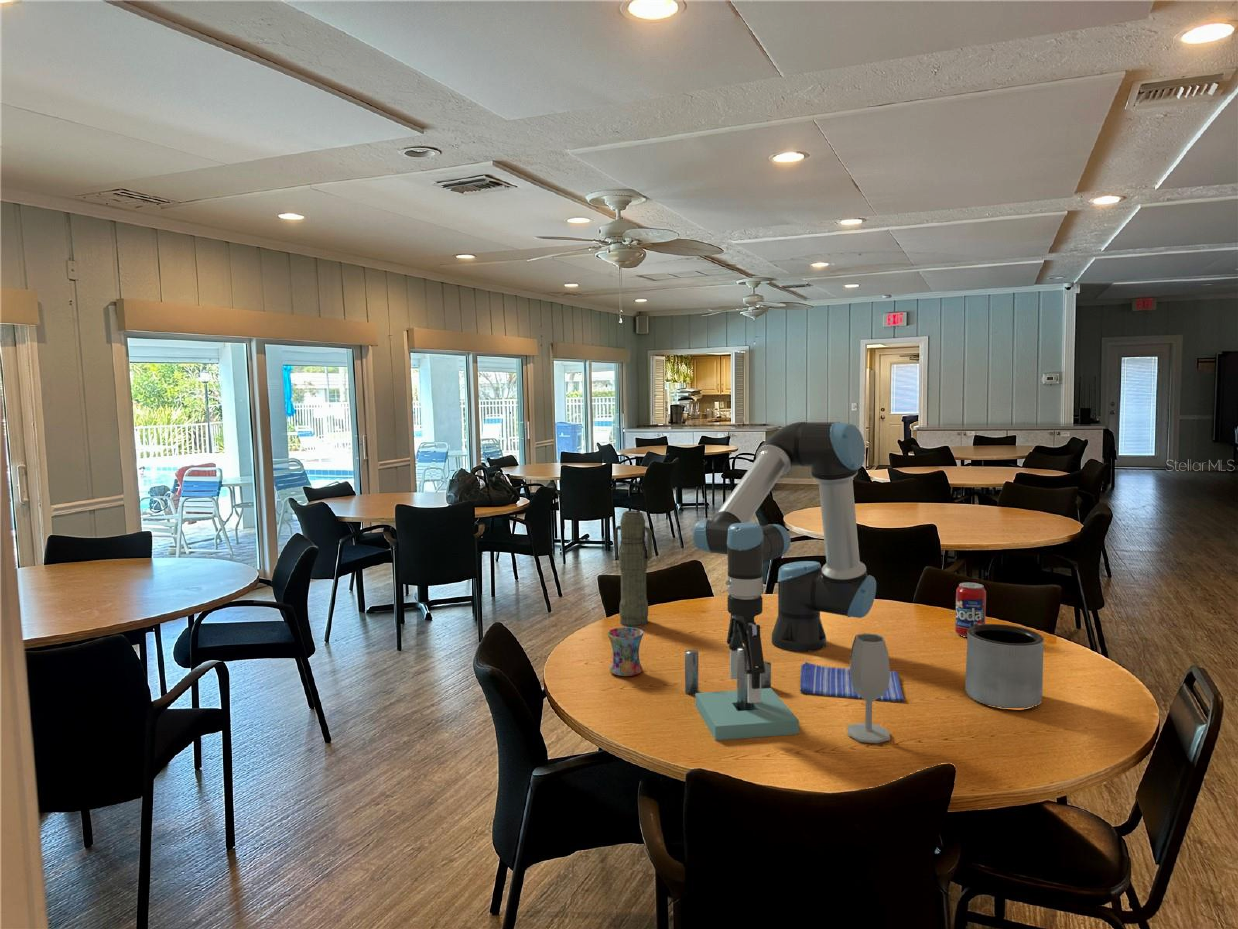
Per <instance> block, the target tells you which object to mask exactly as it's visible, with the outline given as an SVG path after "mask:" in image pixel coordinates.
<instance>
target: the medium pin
mask: <svg viewBox="0 0 1238 929" xmlns="http://www.w3.org/2000/svg"><path fill="white" fill-rule="evenodd" d="M699 688H700V686H699V650H697V649H687V650H685V651H684V694H686V695H690V696H693V695H694V696H695V693H700V691H699Z"/></svg>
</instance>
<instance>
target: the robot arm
mask: <svg viewBox="0 0 1238 929" xmlns="http://www.w3.org/2000/svg"><path fill="white" fill-rule="evenodd" d="M865 454H866V446H865V440H864V436H863V434H862V433H861V430H860V429H859V428H858V427H857V426H856V425H854V424H852V423H846V422H840V421H834V422H832V421H830V422H828V421H826V422H824V421H822V422H821V421H820V422H817V421H816V422H813V421H812V422H809V421H808V422H806V421H797V422H793V423H790V424H787V425H786V426H784V427H782V428H780V429H777V431H775V432H774V433H772V434H771V435H770V436H769V437H767V439H766V440H765V441H764V442H762V444H761V445H760V447H758V449H757V450H756V453H755V460H754V461H753V462H752V464H751V466H750V467H749V468H748V470H747V471H746V472H745V474H744V475H743V476H742V478H741V479H740V480H739V482H738V483H737V485H736V486H735V487H734V489H733V490H732V492H731V493H730V494H729V495H728V497H727V499H726V500H725V501H724V502H723V504H722V505H721V507H720V508H719V510H718V511H717V512H716V514H715V515H714V516H713V517H712V519H709V518H707V519H701V520H698V521H697V522H696V523H695V525H694V527H693V531H692V541H693V542H692V543H694V546H695V548H696V549H697V550H699V551H703V552H707V553H709V554H721V555H727V580H725V585H726V586H727V593H728V595H727V612H728V613H729V614H730V620H729V625H728V632H727V637H726V638H727V639H726V643H727V645H728V648H729V679H730V680H737V648H738V647H741V646H745V652H746V657H747V662H748V667H749V670H747V671H746V674H748V703H756V702H761V673H765V667H764V653H763V646H762V638H761V625H760V624H757V623H756V621H755V617H757V616H760V615H762V613H763V603H764V602H763V596H762V595H763V593H764V575H763V569H764V568H763V564H765V563H767V562H768V561H771V560H776V559H779V558H780V557H782V556H784V555H785V554H786V553H787V552H788V551H789V550H790V548H791V542H792V540H791V535H790V533H789V531H788V530H787V528H785V527H784V526H782V525H781V524H776V523H773V524H766V525H761V524H758V523H756V522H750V521H751V519H752V518H753V517H754V515H755V514H756V512H757V511H758V509H759V508H760V507H761V505H762V504H763V502H764V500H765V499H766V498H767V496H769V493H770V492H771V490H772V489H773V488H774V486H775V484H776V483H777V481H779V479H780V477H781V476H783V475H786V474H788V472H790V470H791V469H792V468H795V467H808V468H810V471H811V477H812V478H813V479H814V480H816V481H817V482H818V489H819V491H818V492H819V502H820V508H821V509H820V511H821V519H822V520H821V521H822V531H823V539H824V540H823V542H824V549H825V550H824V552H825V560H826V562H825V564H823V566H822V565H821V563H820V562H819V561H814V560H813V561H812V560H811V561H809V560H805V561H804V560H802V561H801V560H800V561H794V562H789V563H785V564H783V565H781V566H780V567H779V568H778V576H777V618H776V621H775V624H774V627H773V629H772V632H771V644H773V645H774V646H775V647H777V648H780V649H783V650H785V651H792V652H814V651H820V650H823V649H824V648H826V646H827V635H826V633H825V629H824V626H823V623H822V620H821V613H827V614H832V615H838V616H843V617H847V618H858V619H861V618H862V619H863V618H865V617H867V615H868V614H869V613H870V611H871V609H872V607H873V604H874V602H875V598H876V593H877V581H876V579H875V577H874V576H872V575H871V574H869V575H868V573H867V566H866V565H865V563H863V562H862V561H860V550H859V540H858V537H859V536H858V528H857V527H858V526H857V518H856V517H857V515H856V504H855V495H854V493H855V492H854V483H853V482H854V481H853V480H854V478H855V477H856V476H857V475H858V473H859V469H861V468H862V466H863V465H864V462H865V459H866V457H865Z"/></svg>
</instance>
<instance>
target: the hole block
mask: <svg viewBox="0 0 1238 929" xmlns="http://www.w3.org/2000/svg"><path fill="white" fill-rule="evenodd" d="M694 696H695V698H694V700H695V703H694V704H695V705H694V706H695V708H696V710H697V711H698V713H699V715H700V717H701V718H702V719H703V722H704V723H705V725H706V726H707V729H708V730H709V731H710V734H711V735H712V737H713V738H714V740H715V741H723V740H724V741H725V740H737V739H738V740H739V739H750V738H751V739H752V738H763V737H764V738H765V737H777V736H790V735H792V736H793V735H799V734H800V721H799V718H798V717H797V716H796V715H795V713H793V712H792V710H791V709H790V708H789V707H788V705H786V703H785V702H784V701H783V700H782V699H781V698H780V697H779V696H778V695H777V693H776V692H775V691H774V690H773V689H772V687H771V688H765V689H761V702H756V703H752V710H746V711H737V689H736V690H735V689H734V690H725V691H723V690H722V691H710V692H709V691H708V692H699V693H695V695H694Z"/></svg>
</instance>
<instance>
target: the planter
mask: <svg viewBox="0 0 1238 929" xmlns="http://www.w3.org/2000/svg"><path fill="white" fill-rule="evenodd" d="M966 640H967V642H966V657H965V658H966V659H965V660H966V661H965V683H964V685H965V686H964V687H965V692H966V694H967V695H968V696H969V697H970V699H972V698H973V699H972V700H974V701H975V700H976V701H975V702H977V701H978V702H977V703H979V702H981V703H983V704H986V705H991V706H995V707H1001V708H1028V707H1032V706H1035V705H1038V704H1039V703H1040V702H1041V701H1042V702H1043V690H1044V689H1043V685H1044V680H1043V679H1044V678H1043V677H1044V644H1045V642H1044V641H1045V638H1044V637H1043V635H1041V634H1039V633H1038V632H1036V631H1034V630H1032V629H1028V628H1025V627H1021V626H1016V625H1008V624H999V623H997V624H996V623H985V624H982V625H976V626H973V627H970V628H969V629H968V632H967V638H966ZM1042 702H1041V703H1042ZM981 703H980V704H981ZM983 704H982V705H983ZM986 705H985V706H986ZM1039 705H1040V704H1039ZM1039 705H1038V706H1039Z"/></svg>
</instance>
